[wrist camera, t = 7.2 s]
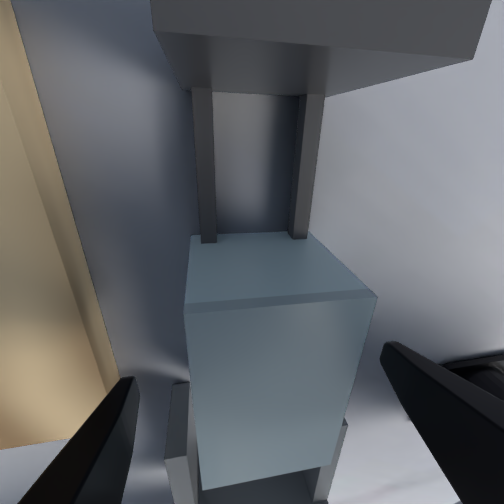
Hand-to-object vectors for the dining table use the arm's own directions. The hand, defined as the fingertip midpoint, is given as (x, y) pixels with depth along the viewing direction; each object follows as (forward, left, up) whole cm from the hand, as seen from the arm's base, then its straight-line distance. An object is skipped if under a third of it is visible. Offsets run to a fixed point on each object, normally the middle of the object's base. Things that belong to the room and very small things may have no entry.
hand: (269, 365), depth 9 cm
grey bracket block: (0, -3, -4) cm, 5 cm away
